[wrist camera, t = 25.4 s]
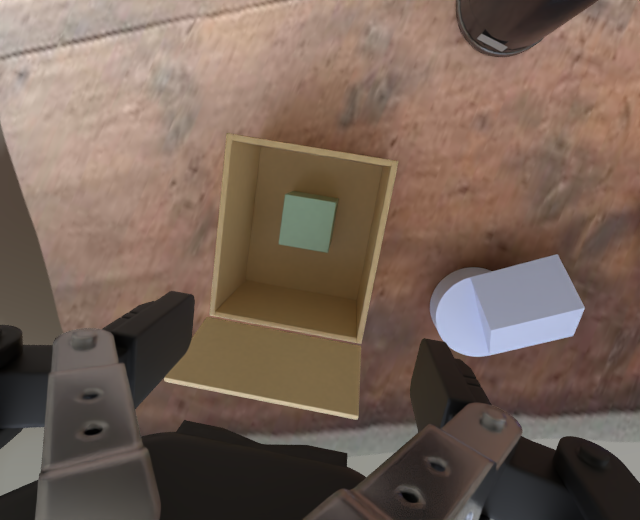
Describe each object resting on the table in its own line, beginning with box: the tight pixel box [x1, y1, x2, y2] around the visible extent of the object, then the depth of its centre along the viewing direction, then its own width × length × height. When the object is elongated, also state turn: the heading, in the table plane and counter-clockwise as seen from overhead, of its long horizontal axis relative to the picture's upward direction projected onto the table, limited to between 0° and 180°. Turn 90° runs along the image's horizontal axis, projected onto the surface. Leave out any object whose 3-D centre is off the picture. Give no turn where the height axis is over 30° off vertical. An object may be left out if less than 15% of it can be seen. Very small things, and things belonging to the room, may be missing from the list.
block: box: [278, 191, 339, 253], centre depth 40 cm, size 5×5×5 cm
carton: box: [209, 133, 398, 344], centre depth 38 cm, size 16×14×10 cm
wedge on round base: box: [430, 254, 585, 357], centre depth 40 cm, size 9×7×13 cm
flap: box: [164, 317, 361, 420], centre depth 30 cm, size 8×14×1 cm
